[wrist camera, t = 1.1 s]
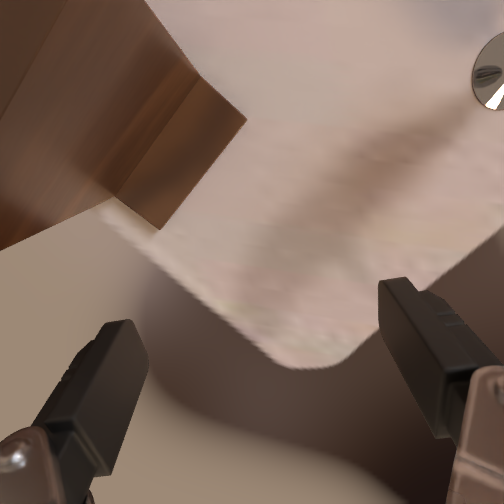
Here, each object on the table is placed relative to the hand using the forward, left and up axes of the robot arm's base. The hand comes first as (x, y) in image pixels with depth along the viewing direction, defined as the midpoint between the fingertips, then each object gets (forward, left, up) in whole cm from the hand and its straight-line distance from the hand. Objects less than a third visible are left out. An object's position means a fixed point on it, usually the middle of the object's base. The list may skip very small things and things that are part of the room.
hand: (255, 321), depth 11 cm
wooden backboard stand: (-11, -9, -27) cm, 30 cm away
